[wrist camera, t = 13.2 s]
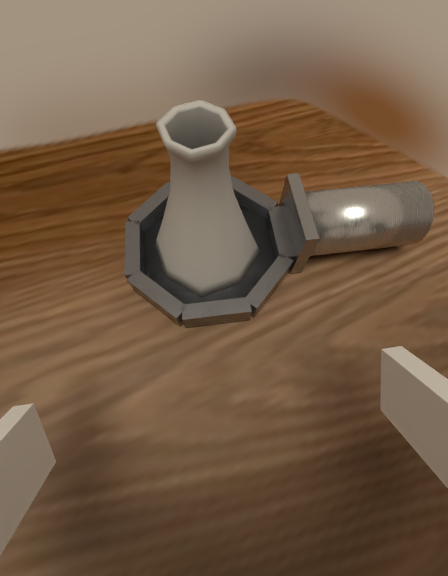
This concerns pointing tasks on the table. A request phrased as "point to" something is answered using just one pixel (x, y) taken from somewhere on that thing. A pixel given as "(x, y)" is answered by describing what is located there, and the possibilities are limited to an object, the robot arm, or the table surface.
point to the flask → (202, 203)
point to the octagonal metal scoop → (277, 241)
